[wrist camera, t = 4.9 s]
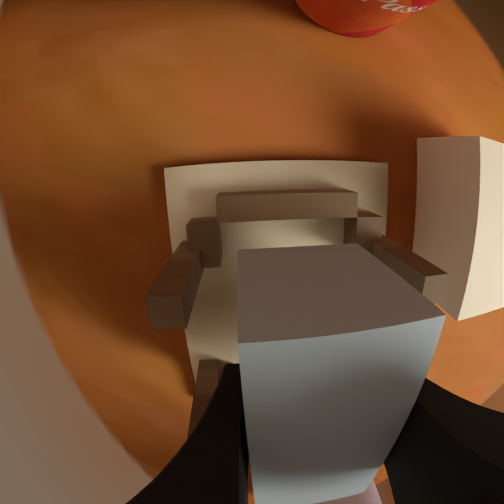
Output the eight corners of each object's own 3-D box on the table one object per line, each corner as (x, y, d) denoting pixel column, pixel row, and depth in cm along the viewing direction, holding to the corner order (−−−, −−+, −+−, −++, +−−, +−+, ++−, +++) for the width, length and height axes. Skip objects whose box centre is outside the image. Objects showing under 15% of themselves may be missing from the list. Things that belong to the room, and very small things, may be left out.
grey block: (334, 406, 12) (364, 492, 7) (249, 416, 12) (255, 510, 7) (356, 243, 9) (445, 314, 5) (237, 249, 9) (238, 343, 4)
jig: (353, 385, 17) (387, 458, 11) (203, 399, 17) (194, 483, 10) (378, 162, 13) (469, 170, 6) (169, 167, 12) (109, 174, 6)
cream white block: (453, 273, 15) (504, 306, 10) (407, 279, 15) (457, 321, 10) (464, 147, 13) (524, 151, 8) (415, 138, 12) (479, 136, 8)
